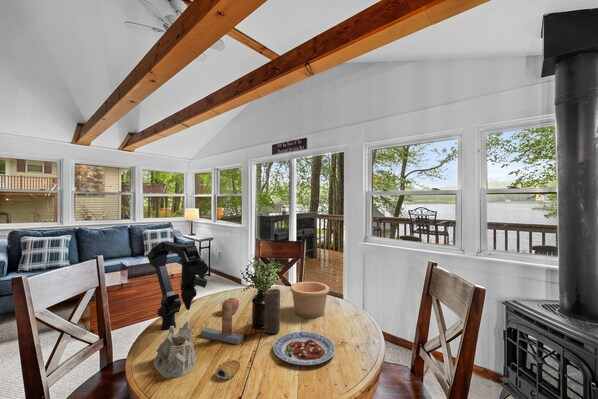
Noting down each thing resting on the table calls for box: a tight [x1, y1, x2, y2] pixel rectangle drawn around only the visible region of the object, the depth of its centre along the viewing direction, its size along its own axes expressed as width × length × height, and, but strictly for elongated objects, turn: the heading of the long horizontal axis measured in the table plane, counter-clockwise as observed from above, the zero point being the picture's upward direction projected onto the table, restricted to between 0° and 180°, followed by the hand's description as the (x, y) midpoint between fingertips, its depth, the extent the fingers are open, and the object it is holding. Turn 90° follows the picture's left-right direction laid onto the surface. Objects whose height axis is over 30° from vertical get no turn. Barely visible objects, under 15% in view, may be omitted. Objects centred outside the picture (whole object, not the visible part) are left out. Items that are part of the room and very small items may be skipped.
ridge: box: [200, 327, 244, 345], centre depth 125 cm, size 20×4×2 cm, turn 69°
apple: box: [222, 297, 240, 315], centre depth 154 cm, size 9×9×8 cm
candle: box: [263, 288, 281, 334], centre depth 132 cm, size 8×7×20 cm
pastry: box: [214, 359, 241, 380], centre depth 101 cm, size 9×7×4 cm
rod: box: [221, 303, 233, 336], centre depth 124 cm, size 4×4×13 cm
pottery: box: [289, 281, 330, 320], centre depth 156 cm, size 22×22×14 cm
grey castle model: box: [153, 320, 197, 379], centre depth 105 cm, size 16×16×15 cm
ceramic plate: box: [272, 331, 336, 366], centre depth 116 cm, size 26×26×3 cm
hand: (187, 306), depth 129 cm, fingers open, 9 cm apart
